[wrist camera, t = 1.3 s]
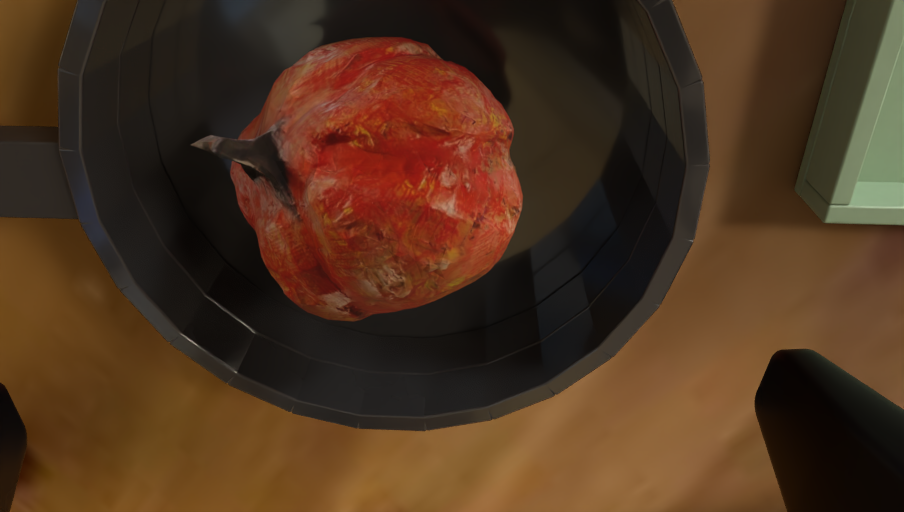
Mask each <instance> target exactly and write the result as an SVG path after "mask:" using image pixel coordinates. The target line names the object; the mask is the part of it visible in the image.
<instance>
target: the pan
mask: <svg viewBox="0 0 904 512" xmlns="http://www.w3.org/2000/svg"><path fill="white" fill-rule="evenodd" d="M368 37H402V38H407V39H411V40H413V41H417V42H420V43H425V44H428V45H429V46H430V47H431V48H432V49H433V50H434V51H435V53H436V54H437V55H438V56H439V57H440V58H441V59H443V61H452V62H454V63H456V64H458V65H461V66H463V67H465V68H466V69H468V70H469V71H470V72H472V73H473V74H474V75H475V76H476V77H477V78H478V79H479V80H480V81H481V82H482V83H483V84H484V85H485V86H486V87H487V88H488V89H489V90H490V91H491V93H492V94H493V96H494V98H495V99H496V100H497V101H499V102H500V103H501V104H502V106H503V108H504V109H505V111H506V113H507V114H508V116H509V118H510V120H511V122H512V125H513V128H514V135H513V139H512V142H511V146H510V149H509V154H510V158H511V161H512V162H513V164H514V166H515V169H516V174H517V177H518V179H519V182H520V186H521V191H522V195H523V199H522V210H521V213H520V216H519V219H518V222H517V225H516V227H515V231H514V233H513V235H512V237H511V239H510V241H509V243H508V246H507V248H506V250H505V251H504V253H503V255H502V257H501V258H500V260H499V261H498V262H497V263H496V264H494V266H493V267H492V269H491V270H490V271H489V272H487V273H486V274H485V275H483V276H482V277H480V278H479V279H477V280H476V281H474V282H472V283H470V284H468V285H466V286H465V287H463V288H461V289H459V290H457V291H454V292H452V293H450V294H448V295H446V296H444V297H442V298H440V299H438V300H436V301H433V302H430V303H427V304H425V305H422V306H419V307H416V308H410V309H404V310H400V311H396V312H389V313H379V314H373V315H370V316H368V317H366V318H364V319H362V320H357V321H341V320H328V319H325V318H322V317H319V316H317V315H314V314H311V313H308V312H306V311H305V310H303V309H302V308H300V307H299V306H298V305H297V304H295V303H294V302H293V301H292V300H290V299H289V298H288V297H287V296H286V295H285V294H284V292H283V290H282V288H281V287H280V285H279V284H278V282H277V281H276V280H275V279H274V278H273V277H272V276H271V274H270V272H269V270H268V269H267V267H266V265H265V263H264V261H263V259H262V257H261V253H260V248H259V242H258V238H257V234H256V231H255V230H254V229H253V228H252V226H251V225H250V224H249V223H248V221H247V220H246V218H245V217H244V215H243V213H242V211H241V209H240V207H239V204H238V200H237V195H236V190H235V185H234V183H233V181H232V179H231V175H230V170H231V164H232V160H228V159H223V158H219V157H217V156H215V155H213V154H212V153H210V152H208V151H206V150H203V149H201V148H198V147H195V146H192V145H191V144H193V143H195V142H197V141H198V140H200V139H202V138H205V137H207V136H210V135H213V136H219V137H224V138H230V139H237V140H238V138H239V136H240V134H241V132H242V131H243V130H244V129H245V128H246V127H247V126H248V125H249V124H250V123H251V122H252V121H253V119H254V118H256V117H257V116H258V115H259V114H260V113H261V111H262V109H263V106H264V104H265V102H266V100H267V98H268V95H269V93H270V91H271V89H272V86H273V84H274V82H275V81H276V80H277V78H278V77H279V76H280V75H281V73H282V72H283V71H284V70H285V69H288V68H290V67H292V66H293V65H294V64H295V63H296V62H298V61H299V60H300V59H301V58H302V57H303V56H305V55H306V54H307V53H308V52H310V51H312V50H314V49H316V48H317V47H320V46H322V45H326V44H331V43H335V42H339V41H344V40H349V39H357V38H368ZM58 66H59V68H58V146H59V153H60V157H61V160H62V164H63V167H64V170H65V174H66V177H67V181H68V184H69V188H70V191H71V194H72V198H73V201H74V205H75V208H76V212H77V215H78V219H79V222H80V223H81V226H82V228H83V230H84V232H85V233H86V235H87V237H88V238H89V240H90V242H91V244H92V245H93V247H94V249H95V250H96V252H97V254H98V256H99V257H100V259H101V261H102V262H103V264H104V266H105V268H106V269H107V271H108V273H109V274H110V276H111V278H112V280H113V281H114V283H115V285H116V286H117V288H118V289H120V291H121V292H122V294H123V295H124V296H125V297H126V298H127V299H128V300H129V301H130V302H131V303H132V304H133V305H134V306H135V308H136V309H137V310H138V311H139V312H140V313H141V314H142V315H143V316H144V317H145V318H146V319H147V320H148V321H149V323H150V324H151V325H152V326H153V327H154V328H155V329H156V330H157V331H158V332H159V333H160V334H161V335H162V336H163V338H164V339H165V340H166V341H167V342H170V344H171V345H172V346H174V347H175V348H176V349H178V350H179V351H181V352H182V353H183V354H185V355H186V356H188V357H189V358H191V359H192V360H193V361H195V362H196V363H198V364H199V365H200V366H202V367H203V368H205V369H206V370H208V371H209V372H210V373H212V374H213V375H215V376H216V377H217V378H219V379H220V380H222V381H223V382H225V383H228V384H229V385H230V386H232V387H234V388H236V389H239V390H241V391H243V392H245V393H248V394H250V395H252V396H254V397H257V398H259V399H261V400H263V401H266V402H268V403H270V404H272V405H275V406H277V407H279V408H281V409H284V410H286V411H288V412H291V411H292V413H293V414H297V415H301V416H305V417H310V418H314V419H318V420H323V421H327V422H331V423H336V424H340V425H344V426H349V427H353V428H359V429H381V430H409V431H426V430H434V429H440V428H447V427H453V426H459V425H465V424H471V423H477V422H483V421H490V420H492V419H497V418H499V417H502V416H504V415H507V414H510V413H512V412H515V411H517V410H520V409H522V408H525V407H528V406H530V405H533V404H535V403H538V402H541V401H543V400H546V399H548V398H551V397H554V396H555V394H556V395H557V394H559V393H560V392H562V391H563V390H565V389H566V388H568V387H569V386H571V385H572V384H574V383H575V382H577V381H578V380H580V379H581V378H583V377H584V376H586V375H587V374H589V373H590V372H592V371H593V370H595V369H596V368H598V367H599V366H601V365H602V364H604V363H605V362H607V361H608V360H610V359H611V358H612V357H614V356H615V355H616V354H617V353H618V351H619V350H620V349H621V348H622V347H623V346H624V345H625V344H626V343H627V342H628V341H629V339H630V338H631V337H632V336H633V335H634V334H635V333H636V332H637V331H638V330H639V328H640V327H641V326H642V325H643V324H644V323H645V322H646V321H647V320H648V319H649V318H650V316H651V315H652V314H653V313H654V312H655V311H656V310H657V309H658V308H659V306H660V304H661V303H662V301H663V299H664V297H665V296H666V294H667V292H668V290H669V288H670V286H671V284H672V282H673V280H674V278H675V276H676V274H677V273H678V271H679V269H680V267H681V265H682V263H683V261H684V259H685V257H686V255H687V253H688V251H689V250H690V248H691V246H692V244H693V240H694V239H695V235H696V230H697V225H698V220H699V215H700V211H701V206H702V201H703V196H704V191H705V187H706V182H707V177H708V172H709V167H710V164H709V162H710V154H709V142H708V130H707V118H706V106H705V94H704V82H703V80H702V75H701V72H700V69H699V67H698V64H697V62H696V59H695V57H694V54H693V52H692V49H691V47H690V44H689V42H688V39H687V37H686V34H685V31H684V29H683V26H682V24H681V21H680V19H679V16H678V14H677V11H676V9H675V6H674V4H673V1H672V0H77V3H76V6H75V10H74V13H73V17H72V20H71V23H70V27H69V30H68V33H67V37H66V40H65V44H64V47H63V50H62V54H61V57H60V60H59V64H58Z"/></svg>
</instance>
